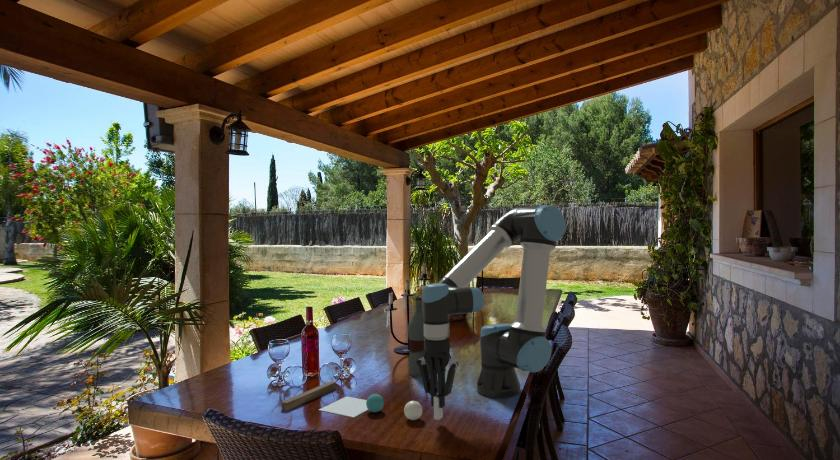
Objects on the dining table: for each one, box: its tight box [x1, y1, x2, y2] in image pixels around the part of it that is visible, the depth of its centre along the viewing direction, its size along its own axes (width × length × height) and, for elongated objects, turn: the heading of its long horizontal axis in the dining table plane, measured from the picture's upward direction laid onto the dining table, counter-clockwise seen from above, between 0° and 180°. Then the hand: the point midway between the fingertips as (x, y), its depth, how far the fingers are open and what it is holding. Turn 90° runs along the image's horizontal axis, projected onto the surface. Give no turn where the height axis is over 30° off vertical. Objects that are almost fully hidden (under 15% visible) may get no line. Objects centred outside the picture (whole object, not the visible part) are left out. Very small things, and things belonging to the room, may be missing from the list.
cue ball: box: [403, 400, 423, 421], centre depth 152 cm, size 6×6×6 cm
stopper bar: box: [281, 381, 337, 412], centre depth 173 cm, size 2×24×2 cm, turn 150°
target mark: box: [318, 395, 369, 418], centre depth 164 cm, size 14×14×1 cm
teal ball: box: [366, 393, 385, 413], centre depth 159 cm, size 6×6×6 cm
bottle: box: [407, 296, 430, 378], centre depth 200 cm, size 9×9×30 cm
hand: (438, 417), depth 148 cm, fingers closed
